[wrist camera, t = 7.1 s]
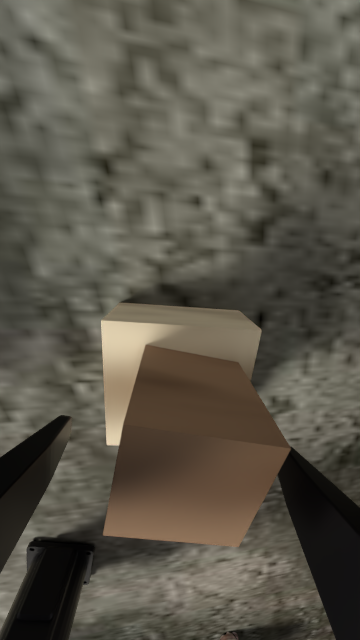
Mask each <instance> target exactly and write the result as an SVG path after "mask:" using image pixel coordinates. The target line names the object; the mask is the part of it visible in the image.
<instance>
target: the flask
mask: <svg viewBox="0 0 360 640" xmlns="http://www.w3.org/2000/svg"><path fill="white" fill-rule="evenodd" d="M233 634H234V635H235V636H236V638H235V637H234V635H233ZM233 634H232V633H229V632H227V633H226V635H222V636H221V637H220V638H221V639H220V640H239V639H238V635H237V633H235V632H233Z"/></svg>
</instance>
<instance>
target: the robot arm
mask: <svg viewBox="0 0 360 640" xmlns="http://www.w3.org/2000/svg"><path fill="white" fill-rule="evenodd" d="M71 426H72V417H70V416H65V415H61V416H59V417H57V418H56V419H54V420H53V421H52V422H50V423H49V424H47V425H46V426H44V427H43V428H42V429H40V430H39V431H37V432H36V433H34V434H33V435H32V436H30V437H29V438H27V439H26V440H24V441H23V442H22V443H20V444H19V445H17V446H16V447H14V448H13V449H12V450H10V451H9V452H7V453H6V454H4V455H3V456H2V457H0V573H1V571H2V569H3V567H4V566H5V564H6V562H7V560H8V558H9V556H10V555H11V553H12V551H13V549H14V547H15V546H16V544H17V542H18V540H19V538H20V536H21V535H22V533H23V531H24V529H25V527H26V526H27V524H28V522H29V520H30V518H31V516H32V515H33V513H34V511H35V509H36V507H37V505H38V504H39V502H40V500H41V498H42V496H43V495H44V493H45V491H46V489H47V487H48V485H49V483H50V481H51V479H52V477H53V475H54V472H55V470H56V468H57V465H58V463H59V461H60V459H61V456H62V454H63V452H64V449H65V447H66V445H67V443H68V440H69V438H70V435H71ZM290 448H291V450H290V452H289V454H288V455H287V457H286V459H285V461H284V463H283V465H282V467H281V469H280V470H279V472H278V477H279V481H280V484H281V488H282V491H283V495H284V498H285V502H286V505H287V508H288V511H289V514H290V516H291V519H292V522H293V525H294V527H295V530H296V533H297V535H298V538H299V541H300V544H301V546H302V549H303V552H304V554H305V557H306V560H307V562H308V565H309V568H310V571H311V573H312V576H313V579H314V581H315V584H316V587H317V590H318V592H319V595H320V598H321V600H322V603H323V606H324V608H325V611H326V614H327V617H328V619H329V622H330V625H331V627H332V630H333V633H334V636H335V638H336V640H360V507H358V506H357V505H356V504H355V503H354V502H353V501H352V500H351V499H349V498H348V497H347V496H346V495H345V494H344V493H343V492H342V491H341V490H339V489H338V488H337V487H336V486H335V485H334V484H333V483H332V482H330V481H329V480H328V479H327V478H326V477H325V476H324V475H323V474H322V473H320V472H319V471H318V470H317V469H316V468H315V467H314V466H313V465H311V464H310V463H309V462H308V461H307V460H306V459H305V458H304V457H302V456H301V455H300V454H299V453H298V452H297V451H296V450H295V449H294V448H292V447H290ZM94 550H95V547H94V546H91V545H79V544H65V543H52V542H38V541H32V542H30V543H29V545H28V547H27V573H26V576H25V578H24V580H23V582H22V584H21V587H20V589H19V591H18V593H17V595H16V598H15V600H14V602H13V604H12V607H11V609H10V611H9V613H8V615H7V618H6V620H5V622H4V624H3V626H2V629H1V631H0V640H68V639H69V635H70V631H71V628H72V624H73V620H74V616H75V613H76V609H77V605H78V601H79V598H80V594H81V590H82V587H83V585H87V584H89V581H90V577H91V570H92V563H93V557H94Z"/></svg>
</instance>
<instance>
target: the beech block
mask: <svg viewBox="0 0 360 640" xmlns="http://www.w3.org/2000/svg"><path fill="white" fill-rule="evenodd" d="M101 328H102V350H103V372H104V394H105V416H106V438H107V445H119V444H120V439H121V433H122V428H123V423H124V419H125V416H126V412H127V409H128V405H129V402H130V398H131V394H132V391H133V387H134V384H135V380H136V377H137V373H138V370H139V366H140V362H141V359H142V355H143V352H144V348H145V345H151V346H156V347H161V348H166V349H172V350H177V351H182V352H187V353H193V354H198V355H203V356H208V357H214V358H219V359H224V360H229V361H235V362H239V364H240V366H241V367H242V369H243V371H244V372H245V374H246V375H247V377H248V379H249V380H250V382H251V378H252V373H253V369H254V364H255V360H256V355H257V351H258V346H259V342H260V337H261V333H262V330H261V329H260V328H259V327H258V326H257V325H255V324H254V323H253V322H252V321H251V320H250V319H248V318H247V317H246V316H245V315H244V314H243V313H241V312H240V311H239V310H225V309H210V308H195V307H180V306H165V305H150V304H135V303H119V304H118V305H117V306H116V307H115V308H113V309H112V310H111V311H110V312H109V313H108V314H107V315H106V316H105V317H104V318H103V319H102V320H101Z"/></svg>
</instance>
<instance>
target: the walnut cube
mask: <svg viewBox="0 0 360 640" xmlns="http://www.w3.org/2000/svg"><path fill="white" fill-rule="evenodd" d="M290 450H291V448H290V446H289V444H288V443H287V441H286V439H285V438H284V436H283V435H282V433H281V431H280V430H279V428H278V426H277V425H276V423H275V421H274V420H273V418H272V417H271V415H270V413H269V412H268V410H267V408H266V407H265V405H264V403H263V402H262V400H261V398H260V397H259V395H258V394H257V392H256V390H255V389H254V387H253V385H252V384H251V382H250V380H249V379H248V377H247V375H246V374H245V372H244V371H243V369H242V367H241V366H240V364H239V362H235V361H229V360H224V359H219V358H214V357H208V356H203V355H198V354H193V353H187V352H182V351H177V350H172V349H166V348H161V347H156V346H151V345H145V348H144V352H143V355H142V359H141V362H140V366H139V370H138V373H137V377H136V380H135V384H134V387H133V391H132V394H131V398H130V402H129V405H128V409H127V412H126V416H125V419H124V423H123V428H122V433H121V439H120V444H119V449H118V455H117V460H116V466H115V471H114V477H113V482H112V487H111V493H110V498H109V504H108V509H107V515H106V520H105V526H104V531H103V535H104V536H115V537H127V538H139V539H151V540H163V541H175V542H187V543H198V544H210V545H222V546H234V547H239V545H240V543H241V541H242V539H243V538H244V536H245V534H246V532H247V530H248V528H249V526H250V525H251V523H252V521H253V519H254V517H255V515H256V513H257V511H258V510H259V508H260V506H261V504H262V502H263V500H264V498H265V497H266V495H267V493H268V491H269V489H270V487H271V485H272V483H273V482H274V480H275V478H276V476H277V474H278V472H279V470H280V469H281V467H282V465H283V463H284V461H285V459H286V457H287V455H288V454H289V452H290Z"/></svg>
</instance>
